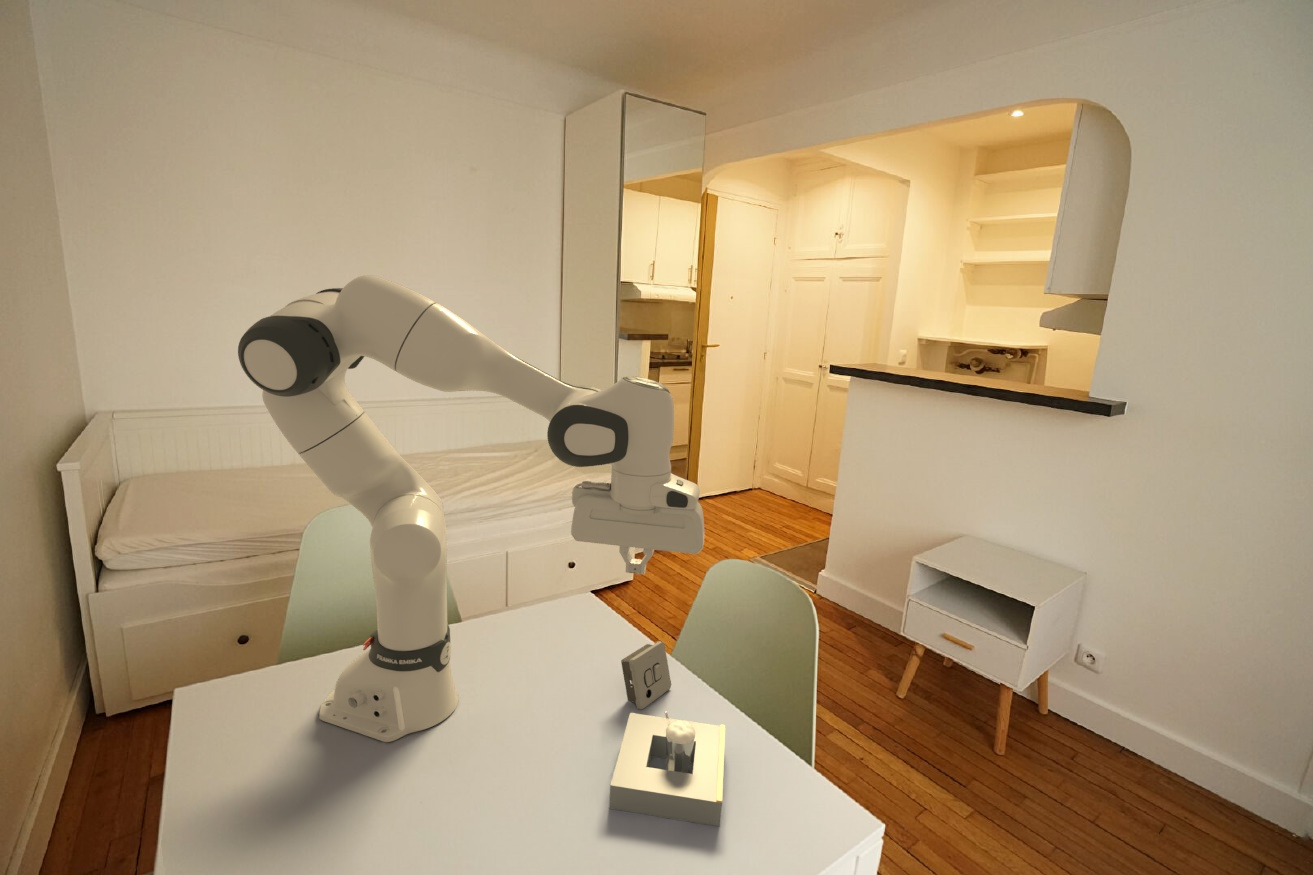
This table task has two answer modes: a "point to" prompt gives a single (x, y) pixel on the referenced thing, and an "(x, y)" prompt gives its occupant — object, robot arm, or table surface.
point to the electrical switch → (646, 674)
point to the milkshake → (679, 745)
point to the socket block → (669, 773)
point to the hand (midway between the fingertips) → (635, 572)
